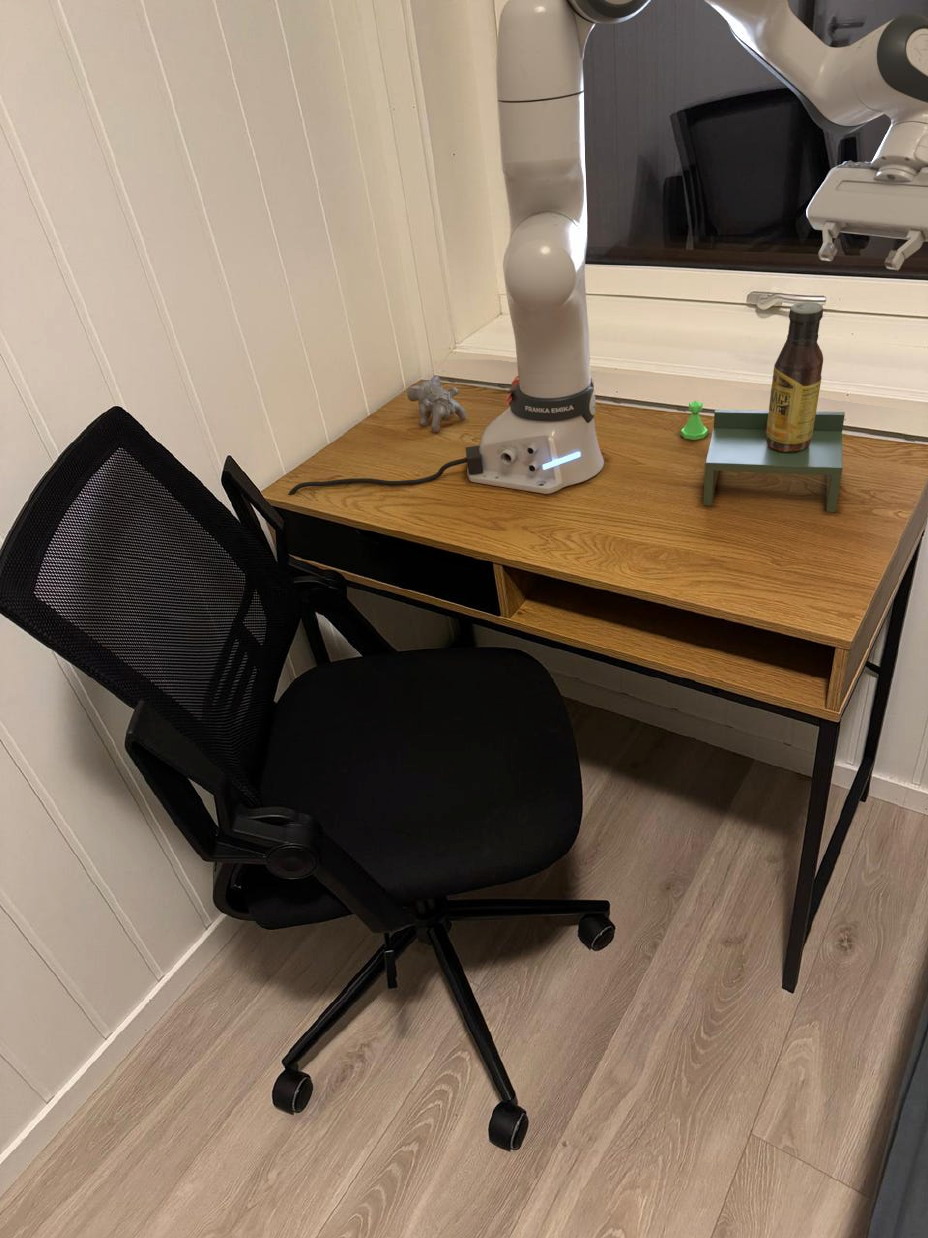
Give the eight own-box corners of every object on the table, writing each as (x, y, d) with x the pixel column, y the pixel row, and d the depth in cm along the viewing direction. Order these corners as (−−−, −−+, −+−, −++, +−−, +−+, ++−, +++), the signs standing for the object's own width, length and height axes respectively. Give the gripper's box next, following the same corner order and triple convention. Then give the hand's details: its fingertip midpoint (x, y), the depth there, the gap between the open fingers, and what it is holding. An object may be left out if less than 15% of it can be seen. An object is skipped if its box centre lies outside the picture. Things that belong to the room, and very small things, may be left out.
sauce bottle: (758, 438, 125) (771, 301, 113) (801, 432, 125) (818, 294, 113) (775, 458, 120) (790, 317, 108) (819, 452, 120) (839, 309, 108)
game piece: (694, 426, 146) (695, 392, 142) (713, 433, 143) (714, 400, 139) (675, 434, 144) (676, 401, 141) (694, 442, 141) (695, 408, 138)
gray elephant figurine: (446, 437, 155) (439, 397, 150) (394, 427, 161) (386, 389, 156) (473, 416, 160) (468, 376, 156) (422, 407, 167) (416, 370, 162)
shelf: (703, 505, 125) (706, 445, 120) (711, 466, 134) (715, 409, 128) (835, 512, 120) (845, 450, 114) (835, 471, 128) (844, 411, 123)
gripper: (828, 146, 117) (779, 241, 118) (983, 152, 103) (926, 258, 105) (842, 174, 121) (795, 265, 123) (992, 183, 108) (937, 285, 109)
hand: (856, 262), depth 114 cm, fingers open, 8 cm apart
